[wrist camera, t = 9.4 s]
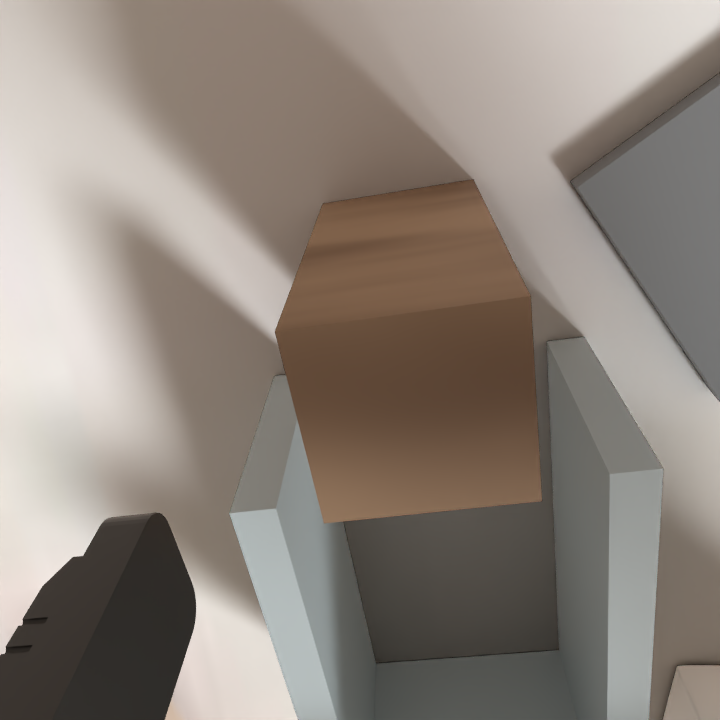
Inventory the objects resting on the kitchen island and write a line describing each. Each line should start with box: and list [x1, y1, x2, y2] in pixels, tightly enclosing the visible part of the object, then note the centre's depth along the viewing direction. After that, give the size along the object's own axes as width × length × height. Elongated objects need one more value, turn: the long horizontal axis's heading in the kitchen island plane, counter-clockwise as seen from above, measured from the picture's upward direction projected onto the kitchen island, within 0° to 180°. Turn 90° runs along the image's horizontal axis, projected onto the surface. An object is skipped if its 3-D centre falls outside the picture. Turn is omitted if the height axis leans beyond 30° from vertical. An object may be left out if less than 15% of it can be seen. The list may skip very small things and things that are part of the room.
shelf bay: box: [229, 337, 663, 720], centre depth 19 cm, size 16×10×14 cm, turn 10°
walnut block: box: [275, 180, 542, 523], centre depth 16 cm, size 4×4×9 cm
